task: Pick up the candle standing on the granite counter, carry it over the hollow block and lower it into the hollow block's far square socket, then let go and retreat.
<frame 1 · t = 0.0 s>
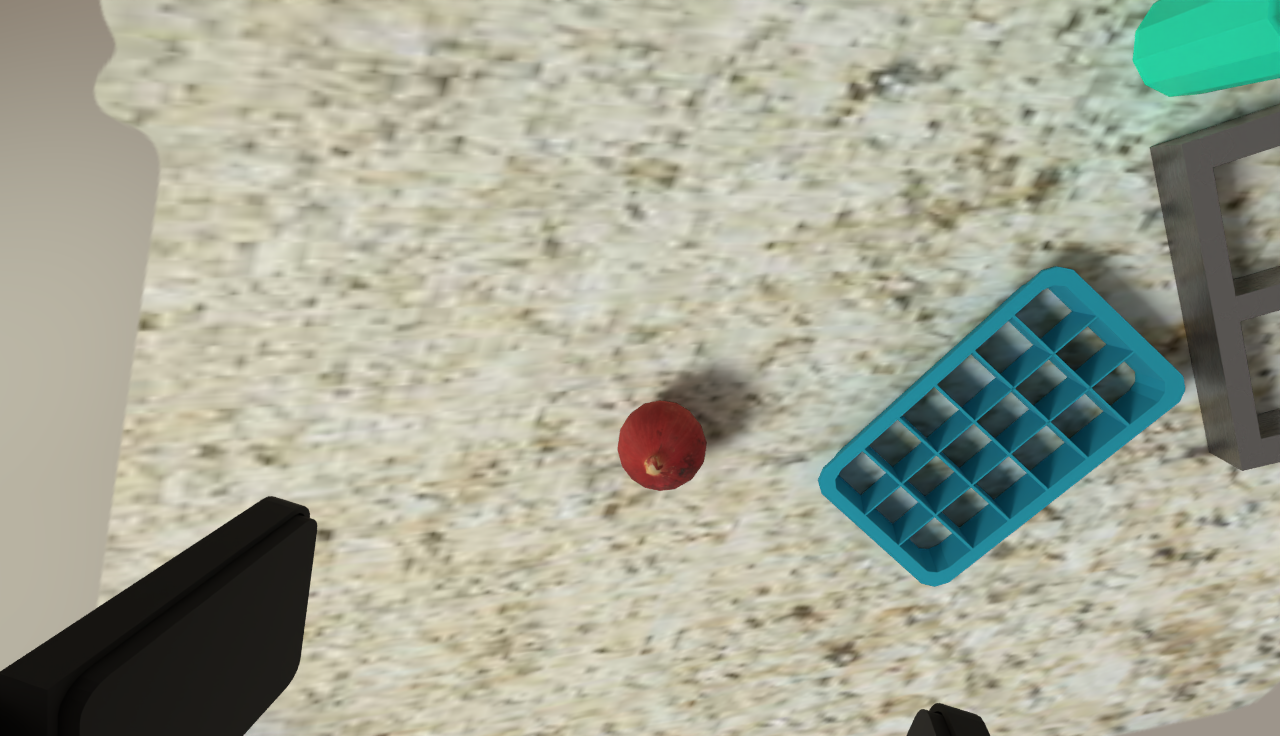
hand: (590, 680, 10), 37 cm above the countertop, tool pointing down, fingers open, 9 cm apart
onion: (667, 425, 49), on the countertop
hollow block: (1272, 280, 41), on the countertop
candle: (1188, 41, 39), on the countertop
ice cube tray: (975, 421, 46), on the countertop
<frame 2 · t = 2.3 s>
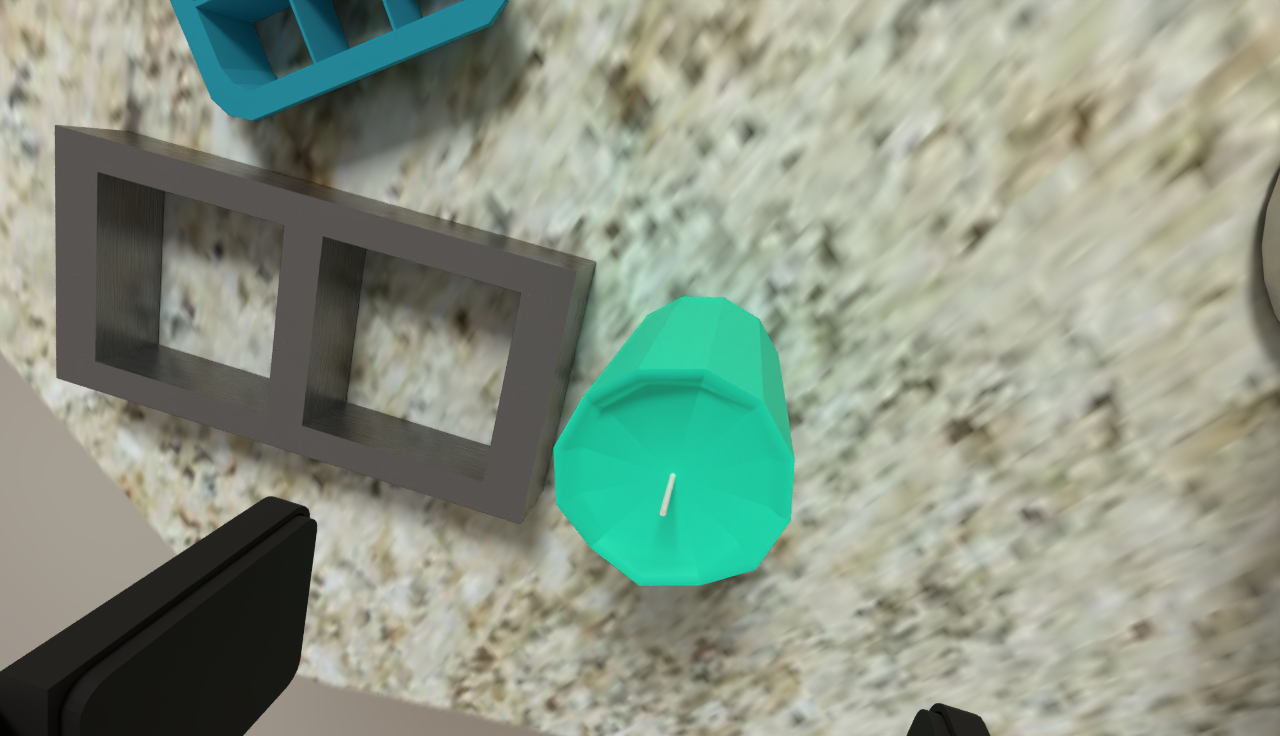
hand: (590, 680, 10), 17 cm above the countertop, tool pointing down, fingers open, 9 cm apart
hollow block: (339, 314, 28), on the countertop
candle: (701, 369, 27), on the countertop
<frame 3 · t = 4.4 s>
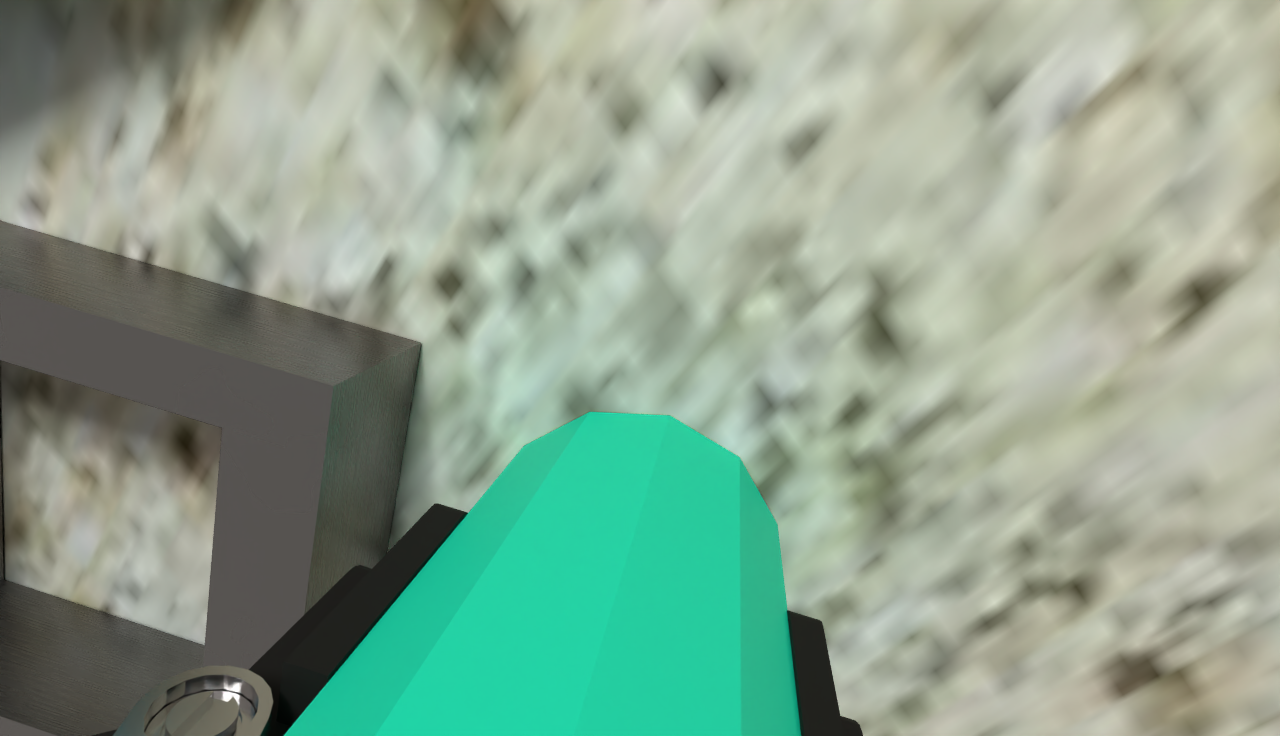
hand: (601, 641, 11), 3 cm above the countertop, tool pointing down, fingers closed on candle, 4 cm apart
candle: (631, 544, 14), on the countertop, touching gripper
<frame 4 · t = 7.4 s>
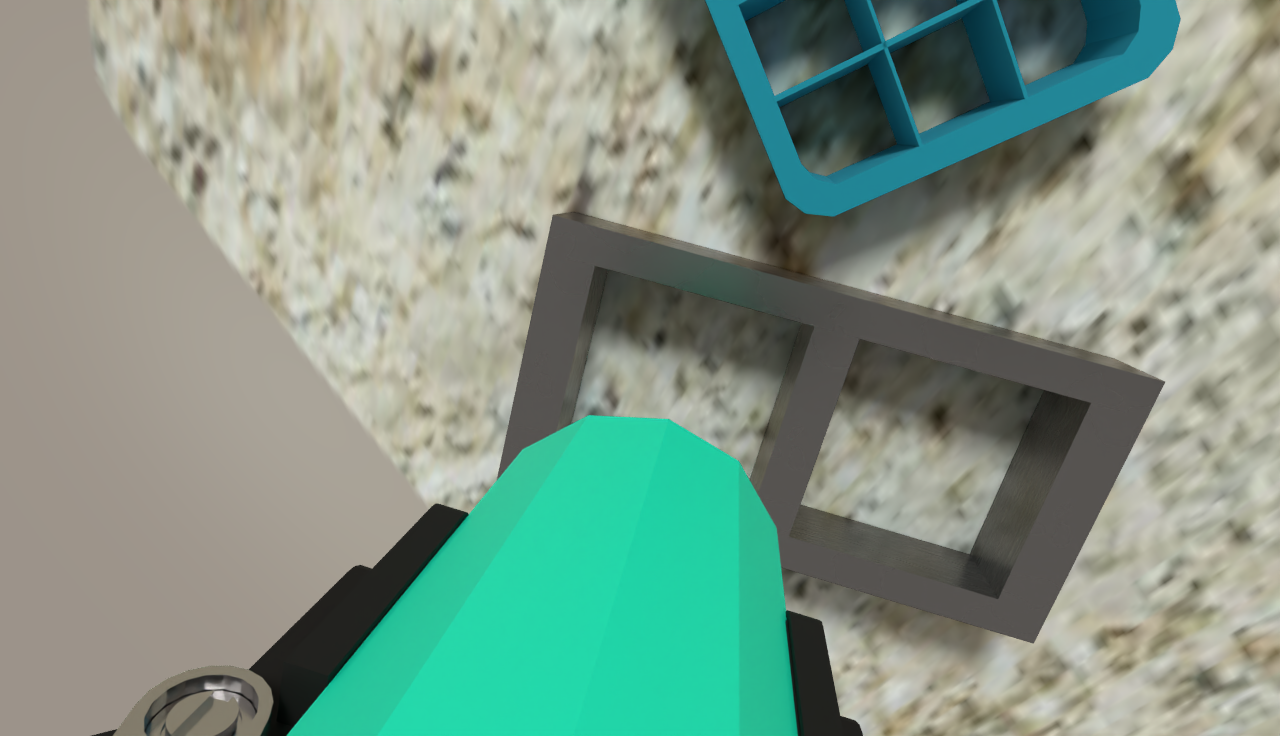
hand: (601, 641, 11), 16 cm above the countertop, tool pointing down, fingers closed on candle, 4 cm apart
hollow block: (794, 408, 26), on the countertop
candle: (630, 548, 14), point 13 cm above the countertop, touching gripper
when the fingers open (4 cm above the countertop, at t = 10.2 s): candle drops 1 cm, resting in hollow block.
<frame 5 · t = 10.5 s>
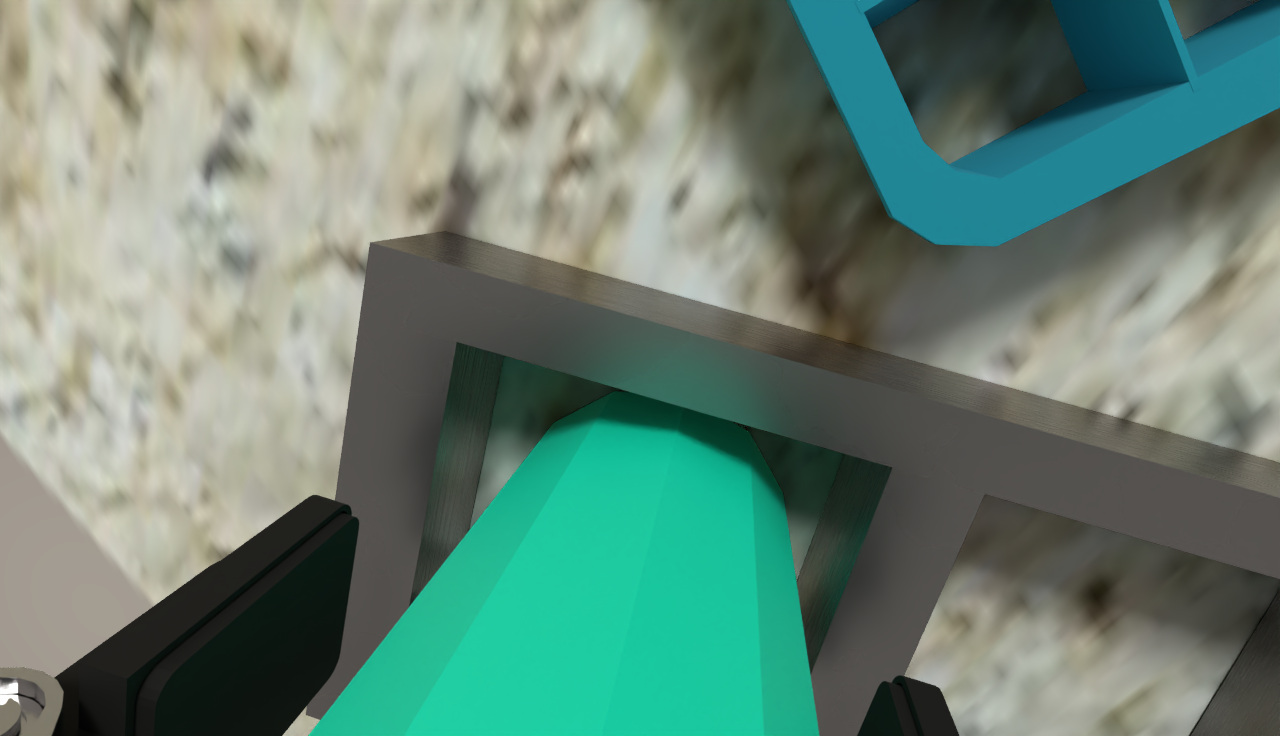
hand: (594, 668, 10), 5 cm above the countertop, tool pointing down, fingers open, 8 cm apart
hollow block: (836, 574, 15), on the countertop
candle: (650, 512, 15), resting in hollow block
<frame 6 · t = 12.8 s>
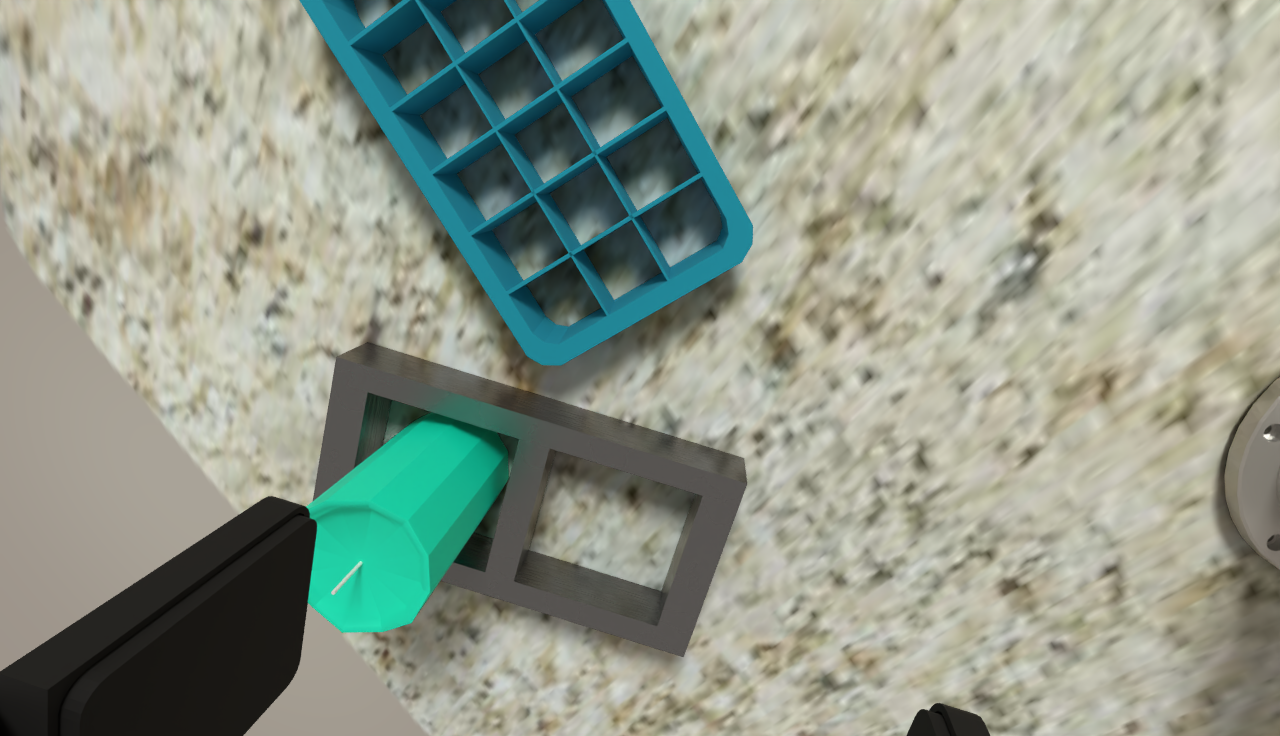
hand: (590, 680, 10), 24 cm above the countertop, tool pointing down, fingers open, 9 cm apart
hollow block: (531, 485, 36), on the countertop
candle: (456, 459, 36), resting in hollow block
ice cube tray: (543, 116, 31), on the countertop
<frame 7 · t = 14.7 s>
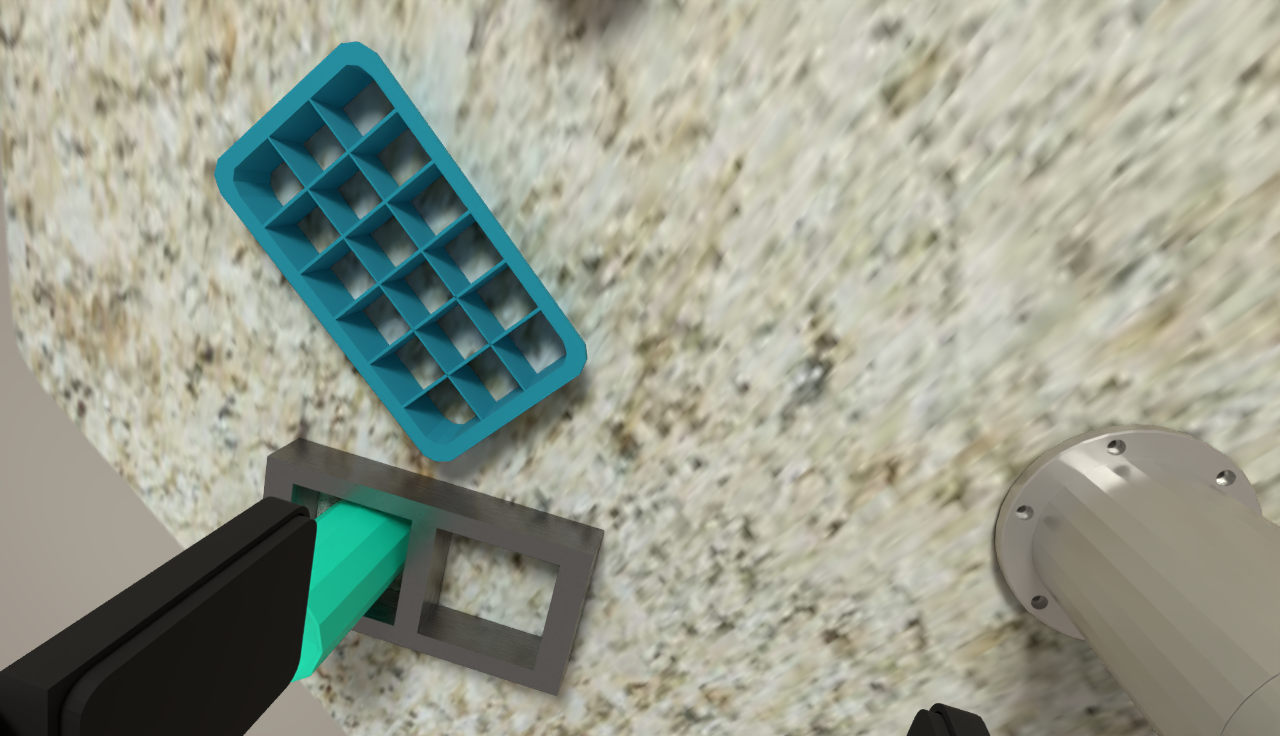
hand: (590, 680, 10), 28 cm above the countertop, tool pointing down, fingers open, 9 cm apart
hollow block: (436, 552, 43), on the countertop
candle: (375, 530, 44), resting in hollow block
ice cube tray: (425, 260, 39), on the countertop
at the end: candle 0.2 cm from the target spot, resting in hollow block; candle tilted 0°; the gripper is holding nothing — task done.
